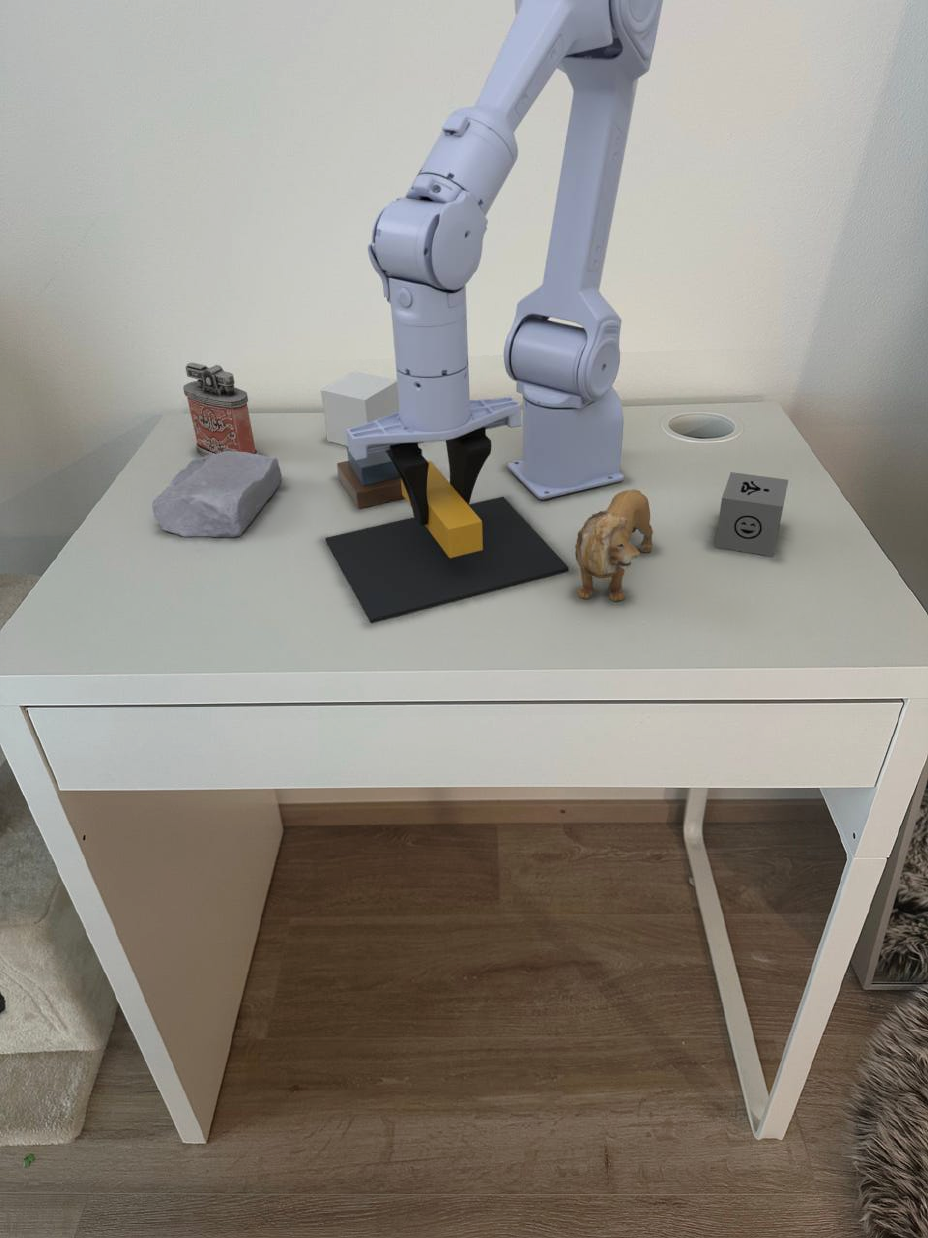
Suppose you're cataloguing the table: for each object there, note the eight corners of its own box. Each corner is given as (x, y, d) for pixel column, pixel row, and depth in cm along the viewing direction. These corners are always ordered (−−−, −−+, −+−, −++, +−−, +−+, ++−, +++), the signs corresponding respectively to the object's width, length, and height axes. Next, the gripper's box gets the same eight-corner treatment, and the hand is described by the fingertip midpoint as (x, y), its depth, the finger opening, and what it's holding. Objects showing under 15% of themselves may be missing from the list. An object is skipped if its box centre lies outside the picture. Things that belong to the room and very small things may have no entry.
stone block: (155, 549, 90) (246, 539, 87) (134, 504, 87) (228, 492, 84) (208, 494, 99) (292, 483, 96) (191, 452, 97) (277, 439, 94)
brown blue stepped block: (402, 464, 99) (399, 431, 96) (425, 493, 93) (423, 459, 91) (338, 478, 97) (334, 444, 94) (358, 508, 91) (354, 474, 89)
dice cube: (723, 520, 87) (730, 471, 84) (779, 528, 86) (788, 479, 83) (714, 547, 83) (722, 497, 80) (773, 556, 82) (782, 506, 79)
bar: (483, 550, 78) (482, 521, 76) (449, 558, 77) (447, 529, 75) (432, 487, 87) (430, 460, 85) (402, 494, 86) (399, 467, 84)
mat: (503, 499, 92) (503, 496, 91) (568, 571, 81) (569, 567, 81) (325, 541, 87) (325, 537, 86) (371, 623, 76) (370, 619, 76)
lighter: (266, 457, 101) (250, 368, 95) (244, 470, 99) (226, 379, 93) (212, 441, 105) (194, 354, 99) (190, 453, 102) (170, 365, 97)
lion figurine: (630, 631, 74) (639, 533, 69) (564, 621, 75) (568, 524, 70) (657, 537, 85) (666, 446, 80) (599, 529, 86) (604, 440, 81)
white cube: (360, 420, 108) (354, 370, 104) (402, 431, 105) (398, 380, 102) (327, 440, 104) (320, 389, 100) (370, 452, 101) (364, 399, 98)
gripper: (496, 333, 78) (498, 478, 86) (329, 363, 74) (347, 512, 82) (532, 361, 73) (531, 512, 81) (354, 394, 69) (371, 551, 77)
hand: (440, 515), depth 81 cm, fingers closed on bar, 3 cm apart
